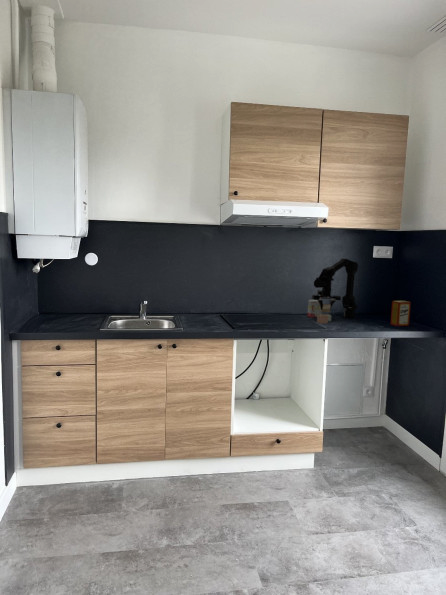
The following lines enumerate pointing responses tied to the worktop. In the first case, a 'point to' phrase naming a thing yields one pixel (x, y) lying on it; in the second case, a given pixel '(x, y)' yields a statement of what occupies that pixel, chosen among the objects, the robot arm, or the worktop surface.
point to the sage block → (328, 316)
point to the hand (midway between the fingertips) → (325, 310)
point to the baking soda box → (400, 313)
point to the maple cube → (326, 308)
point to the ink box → (313, 308)
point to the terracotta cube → (322, 318)
